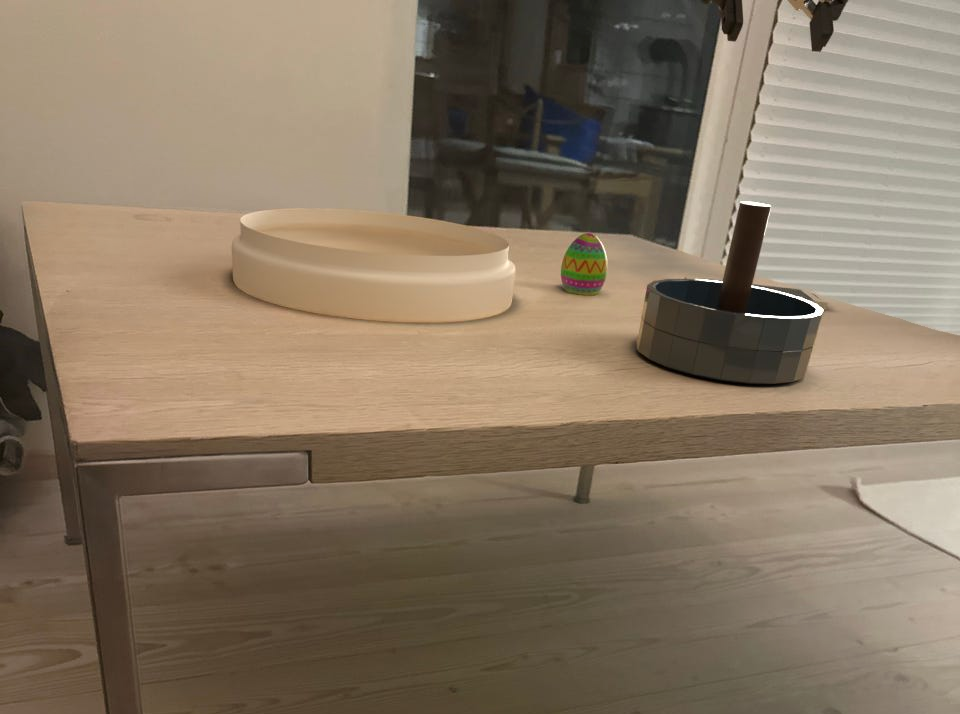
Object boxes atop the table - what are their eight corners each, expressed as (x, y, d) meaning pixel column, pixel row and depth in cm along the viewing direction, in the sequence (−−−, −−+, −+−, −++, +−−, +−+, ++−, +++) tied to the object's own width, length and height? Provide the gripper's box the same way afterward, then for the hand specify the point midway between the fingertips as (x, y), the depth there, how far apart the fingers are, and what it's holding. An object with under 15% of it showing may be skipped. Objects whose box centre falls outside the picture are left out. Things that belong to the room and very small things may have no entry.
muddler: (731, 352, 80) (766, 202, 74) (755, 367, 77) (795, 210, 71) (685, 350, 79) (717, 197, 73) (707, 365, 76) (743, 205, 69)
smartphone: (682, 283, 111) (684, 275, 110) (810, 298, 111) (812, 289, 110) (691, 295, 104) (693, 286, 104) (826, 310, 105) (829, 301, 104)
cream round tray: (554, 296, 96) (562, 240, 93) (424, 341, 75) (428, 270, 72) (340, 253, 106) (341, 201, 103) (170, 282, 85) (166, 217, 82)
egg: (612, 295, 100) (621, 236, 97) (585, 299, 97) (594, 238, 94) (576, 286, 103) (584, 228, 100) (549, 290, 99) (556, 230, 96)
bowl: (752, 345, 86) (767, 283, 83) (837, 391, 74) (858, 321, 72) (611, 339, 82) (622, 274, 80) (678, 387, 71) (693, 313, 68)
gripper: (713, -145, 87) (721, -6, 83) (855, -124, 89) (870, 13, 85) (686, -68, 94) (692, 63, 91) (818, -50, 96) (830, 80, 92)
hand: (778, 39), depth 88 cm, fingers open, 8 cm apart
